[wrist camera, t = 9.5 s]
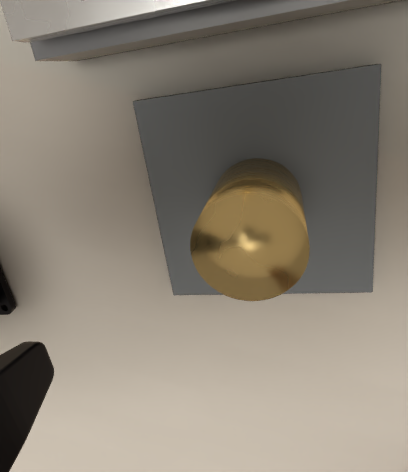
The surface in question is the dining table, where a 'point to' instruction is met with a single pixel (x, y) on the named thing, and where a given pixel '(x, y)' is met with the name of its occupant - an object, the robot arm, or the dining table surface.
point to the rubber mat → (278, 150)
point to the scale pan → (84, 15)
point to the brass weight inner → (252, 232)
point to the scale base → (187, 26)
